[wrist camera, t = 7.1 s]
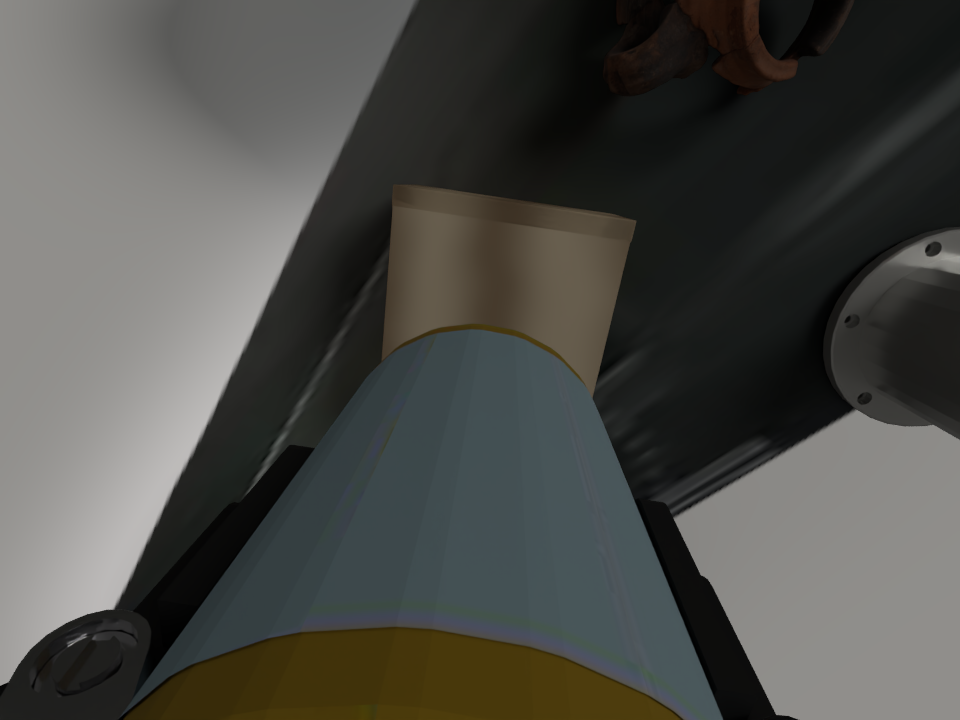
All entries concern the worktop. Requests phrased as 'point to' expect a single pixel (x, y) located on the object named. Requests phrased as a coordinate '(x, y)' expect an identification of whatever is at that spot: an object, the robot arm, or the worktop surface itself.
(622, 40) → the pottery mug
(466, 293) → the chopping block
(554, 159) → the worktop surface
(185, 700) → the bottle
